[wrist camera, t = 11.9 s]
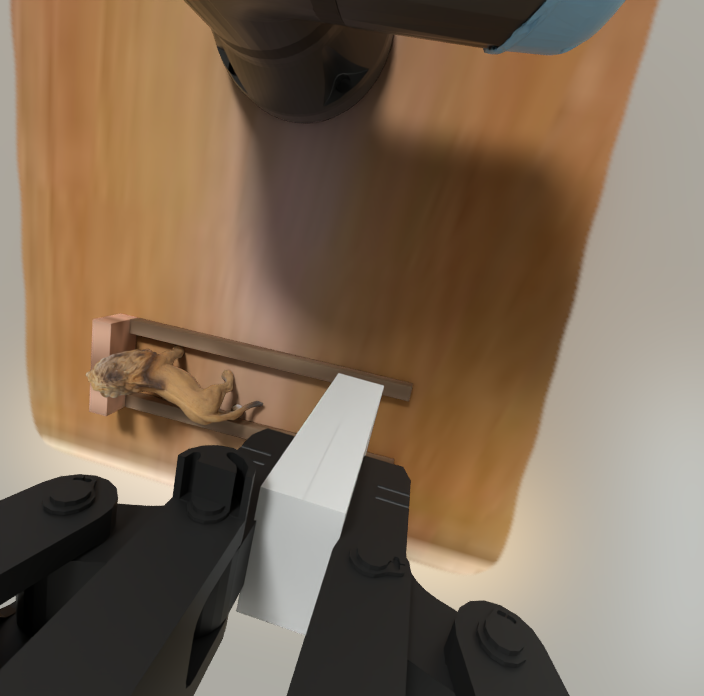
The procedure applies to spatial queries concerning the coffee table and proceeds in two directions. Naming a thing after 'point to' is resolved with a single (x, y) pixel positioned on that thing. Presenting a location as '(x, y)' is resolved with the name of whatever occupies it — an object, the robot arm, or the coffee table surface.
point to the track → (123, 329)
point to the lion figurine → (164, 383)
